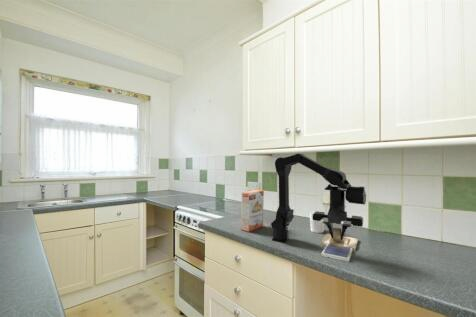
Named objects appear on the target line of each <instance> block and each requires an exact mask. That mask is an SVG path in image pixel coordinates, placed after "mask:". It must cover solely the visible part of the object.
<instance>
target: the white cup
mask: <svg viewBox="0 0 476 317" xmlns="http://www.w3.org/2000/svg"><path fill="white" fill-rule="evenodd" d="M316 211H317V210H311V211H309V225H310V231H311V232H312V233H316V234H323V233H324V231H325V224H324V223H323V219H322V220H320V221H316V220H313V214H314V213H315V212H316ZM318 211H319V212H322V211H320V210H318Z"/></svg>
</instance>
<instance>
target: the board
mask: <svg viewBox="0 0 476 317" xmlns="http://www.w3.org/2000/svg"><path fill="white" fill-rule="evenodd" d="M331 239H332V238H331V235H330V233H326V234H325V236H324V237H323V238H322V240H321V242H320V245H321V246H323V245H324V246H326V245H327V244H330V240H331ZM343 240H345V244H344V246H343V247H349V248H352V251H356V250H357V247H358V246H357V245H358V242H359V239H358V238H355V237H349V236H345V235H344V237H343Z"/></svg>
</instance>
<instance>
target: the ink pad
mask: <svg viewBox="0 0 476 317" xmlns="http://www.w3.org/2000/svg"><path fill="white" fill-rule="evenodd" d="M352 254H353V250H352V248H349V247H343V248H338V247H333V246H330V244H327V245H325V247H324V249H323V250H322V252H321V257H324V258H328V257H329V259H333V260H339V261H342V262H350V260H351V256H352Z"/></svg>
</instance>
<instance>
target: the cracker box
mask: <svg viewBox="0 0 476 317" xmlns="http://www.w3.org/2000/svg"><path fill="white" fill-rule="evenodd" d="M264 193H265V191H264V190H261V189H254V190H249V191H243V192H242V191H241V205H240V206H241V209H240V210H241V212H240V213H241V216H240V220H241V222H240V223H241V224H240V225H241V226H240V227H241V228H240V230H241V231H244V232H248V233H249V232H252V231H255V230H257V229H259V228H262V227H264V199H265V198H264V196H265V195H264Z"/></svg>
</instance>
